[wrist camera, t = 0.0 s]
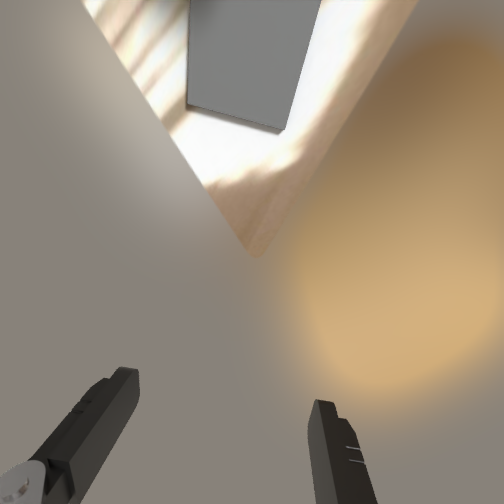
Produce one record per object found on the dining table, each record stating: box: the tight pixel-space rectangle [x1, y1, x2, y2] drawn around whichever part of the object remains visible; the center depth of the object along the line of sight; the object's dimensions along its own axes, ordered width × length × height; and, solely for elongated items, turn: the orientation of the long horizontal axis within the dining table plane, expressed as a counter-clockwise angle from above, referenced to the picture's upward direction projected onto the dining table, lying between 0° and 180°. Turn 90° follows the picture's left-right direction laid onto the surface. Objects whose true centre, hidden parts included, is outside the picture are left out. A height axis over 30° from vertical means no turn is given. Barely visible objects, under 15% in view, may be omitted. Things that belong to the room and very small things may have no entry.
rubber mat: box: [187, 0, 321, 130], centre depth 27 cm, size 13×13×1 cm
